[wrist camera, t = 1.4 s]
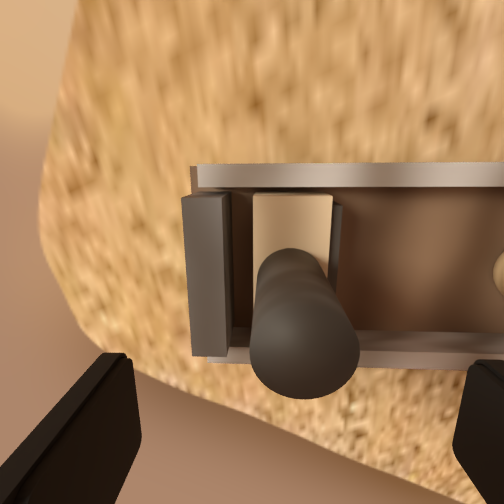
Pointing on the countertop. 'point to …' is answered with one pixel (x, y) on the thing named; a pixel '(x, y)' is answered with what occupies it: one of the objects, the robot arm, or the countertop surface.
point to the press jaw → (299, 296)
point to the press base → (362, 257)
